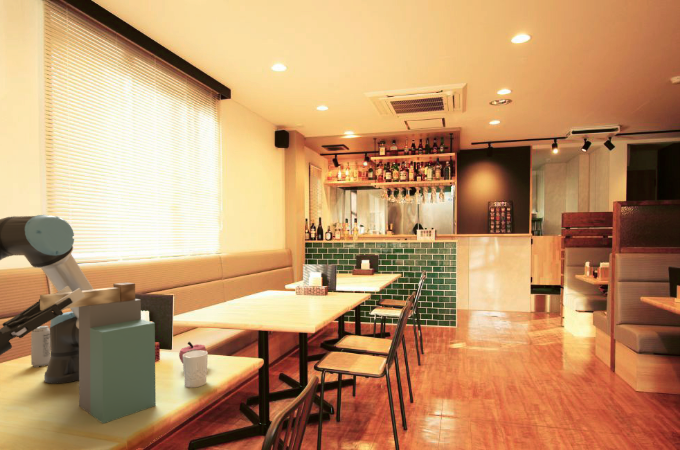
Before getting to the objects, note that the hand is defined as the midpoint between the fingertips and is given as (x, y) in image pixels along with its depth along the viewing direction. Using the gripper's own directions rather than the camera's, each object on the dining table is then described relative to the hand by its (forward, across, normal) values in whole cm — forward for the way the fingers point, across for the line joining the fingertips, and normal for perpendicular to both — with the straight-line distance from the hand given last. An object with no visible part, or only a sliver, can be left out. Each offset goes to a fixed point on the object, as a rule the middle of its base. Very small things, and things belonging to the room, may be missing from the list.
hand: (76, 290), depth 114 cm
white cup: (+11, +7, -46) cm, 48 cm away
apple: (+17, -8, -50) cm, 53 cm away
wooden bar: (+1, 0, -6) cm, 6 cm away
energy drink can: (-12, -62, -33) cm, 71 cm away
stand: (-9, +4, -34) cm, 36 cm away
